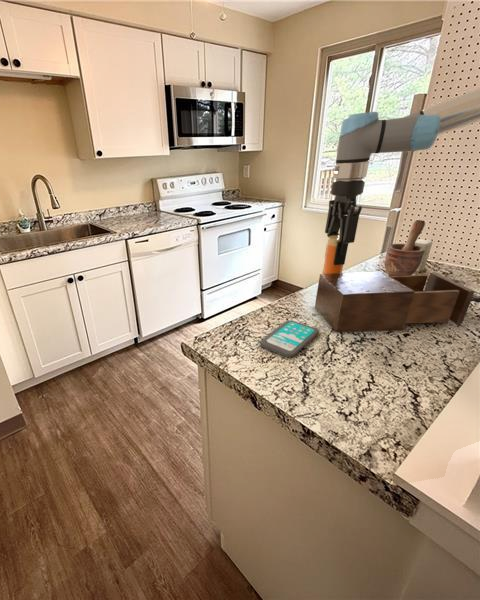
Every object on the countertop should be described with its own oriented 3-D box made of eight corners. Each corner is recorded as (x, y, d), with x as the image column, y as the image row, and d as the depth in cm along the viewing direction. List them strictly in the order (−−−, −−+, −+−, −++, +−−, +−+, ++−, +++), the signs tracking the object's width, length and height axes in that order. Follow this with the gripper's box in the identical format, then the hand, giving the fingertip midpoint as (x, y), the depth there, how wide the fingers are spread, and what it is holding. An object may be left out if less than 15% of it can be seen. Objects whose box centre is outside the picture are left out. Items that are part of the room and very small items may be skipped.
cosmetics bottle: (410, 265, 112) (418, 238, 107) (425, 268, 108) (434, 240, 104) (403, 269, 109) (410, 241, 105) (417, 272, 106) (426, 243, 102)
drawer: (444, 301, 85) (455, 271, 82) (484, 323, 74) (499, 290, 70) (368, 304, 88) (375, 275, 84) (396, 326, 77) (406, 294, 73)
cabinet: (372, 305, 89) (380, 271, 84) (403, 330, 76) (415, 291, 72) (314, 307, 91) (319, 274, 86) (335, 332, 78) (343, 294, 74)
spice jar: (339, 282, 97) (348, 235, 91) (339, 288, 93) (348, 240, 87) (320, 280, 100) (328, 234, 93) (319, 286, 96) (327, 239, 89)
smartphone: (257, 341, 76) (288, 318, 84) (257, 345, 76) (287, 321, 85) (292, 355, 70) (321, 329, 78) (291, 359, 70) (320, 332, 78)
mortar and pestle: (378, 277, 105) (392, 218, 97) (410, 281, 100) (428, 219, 92) (378, 290, 97) (394, 226, 88) (414, 294, 92) (434, 227, 84)
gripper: (320, 177, 92) (309, 253, 102) (351, 183, 76) (334, 272, 86) (347, 175, 91) (333, 251, 101) (384, 180, 75) (363, 271, 85)
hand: (334, 261), depth 93 cm, fingers closed on spice jar, 5 cm apart
